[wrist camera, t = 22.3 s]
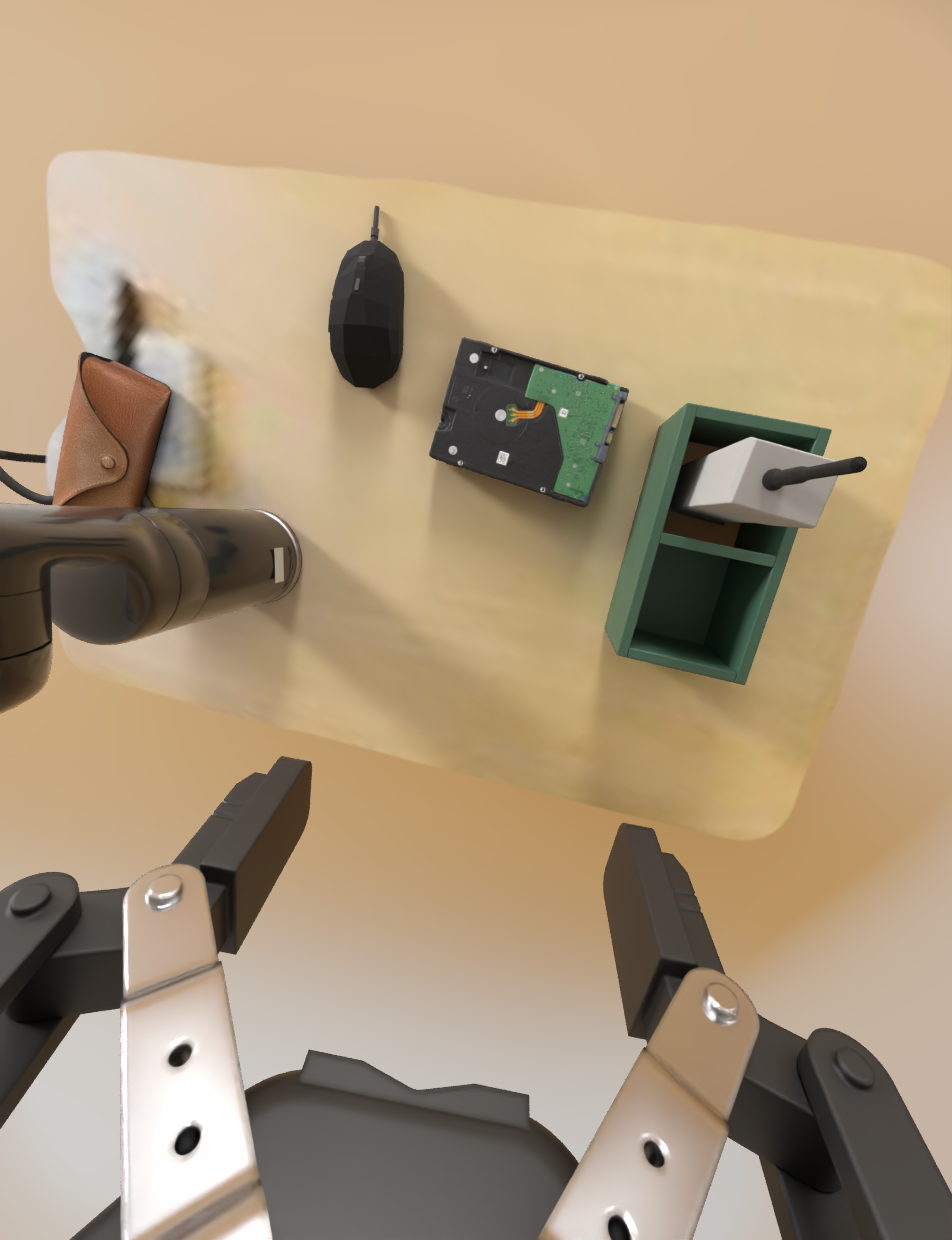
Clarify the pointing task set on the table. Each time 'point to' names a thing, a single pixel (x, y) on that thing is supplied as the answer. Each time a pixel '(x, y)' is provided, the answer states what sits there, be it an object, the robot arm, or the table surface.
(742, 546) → the caddy
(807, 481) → the vintage mobile phone
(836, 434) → the table surface
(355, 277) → the gaming mouse
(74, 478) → the sunglasses case
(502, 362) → the disk drive
